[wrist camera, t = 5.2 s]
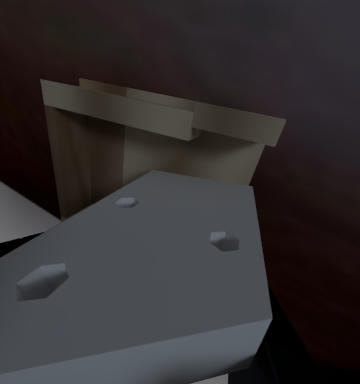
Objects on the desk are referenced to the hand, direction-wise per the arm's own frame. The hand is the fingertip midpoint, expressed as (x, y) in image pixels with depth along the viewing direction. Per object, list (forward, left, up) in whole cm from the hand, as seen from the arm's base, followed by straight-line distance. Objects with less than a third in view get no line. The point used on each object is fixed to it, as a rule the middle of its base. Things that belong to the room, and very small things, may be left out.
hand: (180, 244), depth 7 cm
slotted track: (+4, 0, -6) cm, 7 cm away
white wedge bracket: (0, 0, -4) cm, 4 cm away
